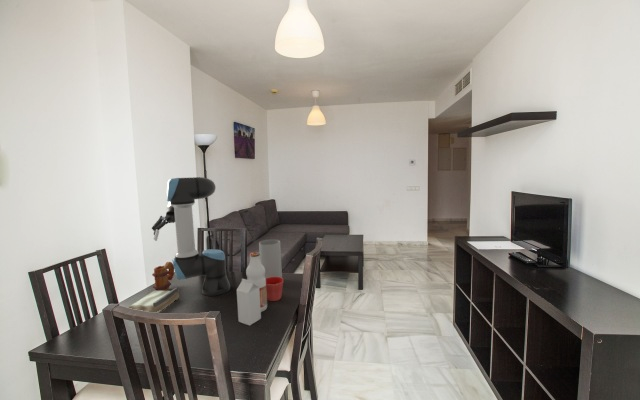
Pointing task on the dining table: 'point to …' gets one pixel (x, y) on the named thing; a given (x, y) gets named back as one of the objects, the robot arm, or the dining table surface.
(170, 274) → the mug
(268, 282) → the flower pot
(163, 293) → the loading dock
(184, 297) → the dining table surface
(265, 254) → the cylinder vase
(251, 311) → the milk carton
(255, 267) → the fruit juice
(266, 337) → the dining table surface
